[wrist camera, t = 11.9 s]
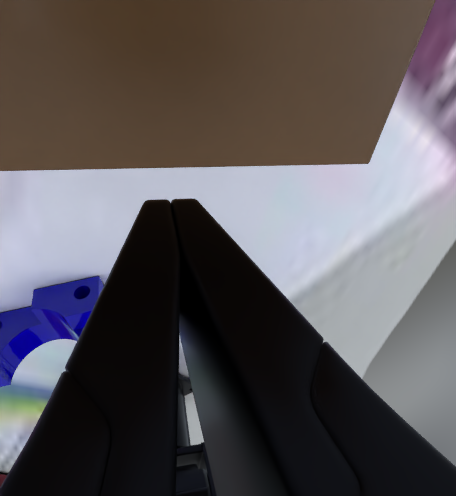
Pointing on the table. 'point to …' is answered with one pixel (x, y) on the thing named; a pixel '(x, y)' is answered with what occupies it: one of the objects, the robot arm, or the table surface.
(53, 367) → the table surface
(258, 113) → the flap
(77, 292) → the cable holder
